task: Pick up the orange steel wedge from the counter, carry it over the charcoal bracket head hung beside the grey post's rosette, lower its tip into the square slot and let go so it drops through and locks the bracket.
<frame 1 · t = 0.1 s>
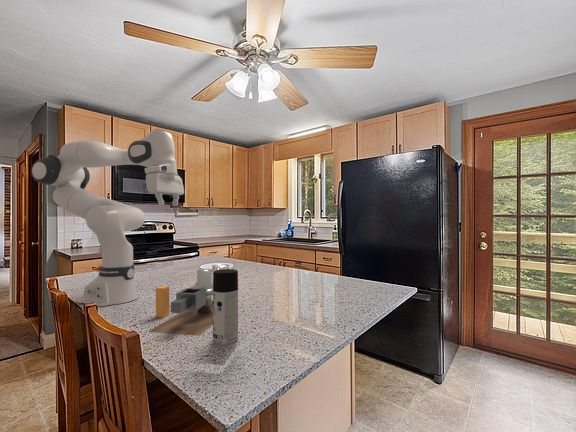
hand: (168, 205, 118), 39 cm above the countertop, tool pointing down, fingers open, 8 cm apart
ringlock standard: (196, 317, 97), resting on base board
wedge: (162, 320, 99), on the countertop
beer glass: (220, 304, 117), on the countertop
base board: (196, 322, 97), on the countertop
spray can: (225, 345, 80), on the countertop
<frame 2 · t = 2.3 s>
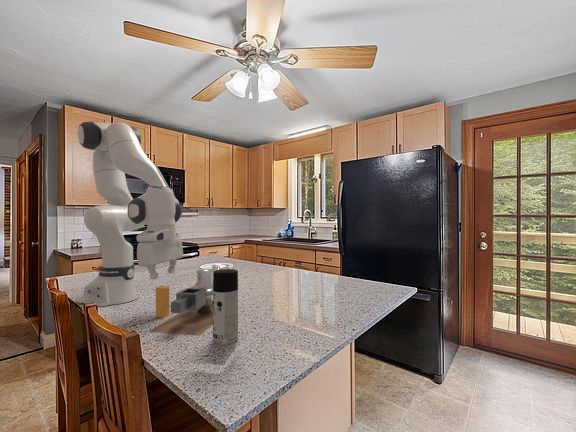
hand: (163, 275, 99), 15 cm above the countertop, tool pointing down, fingers open, 8 cm apart
nothing on the countertop moved.
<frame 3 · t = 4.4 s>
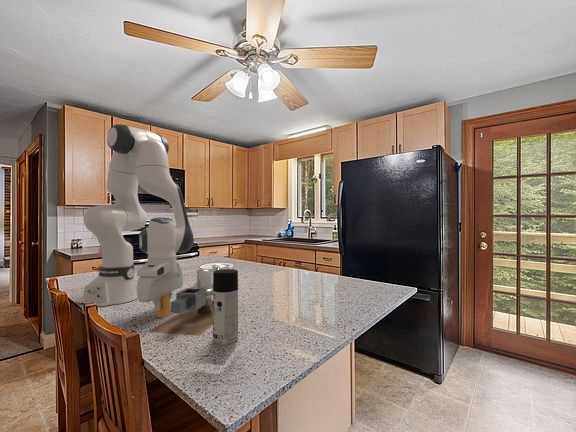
hand: (162, 307, 99), 4 cm above the countertop, tool pointing down, fingers closed on wedge, 3 cm apart
wedge: (162, 320, 99), on the countertop, touching gripper
everything else where it was.
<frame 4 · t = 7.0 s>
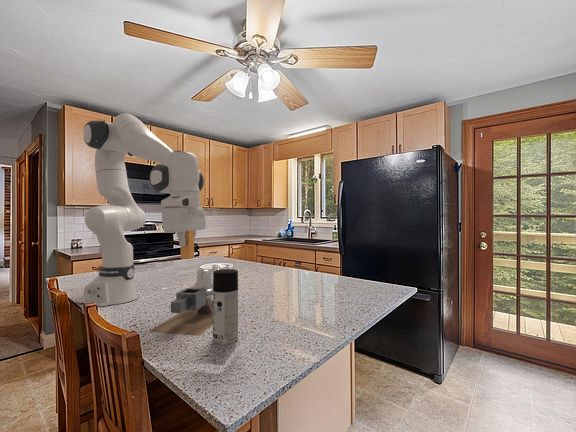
hand: (187, 245, 94), 25 cm above the countertop, tool pointing down, fingers closed on wedge, 3 cm apart
wedge: (187, 258, 94), point 21 cm above the countertop, touching gripper
everything else where it was.
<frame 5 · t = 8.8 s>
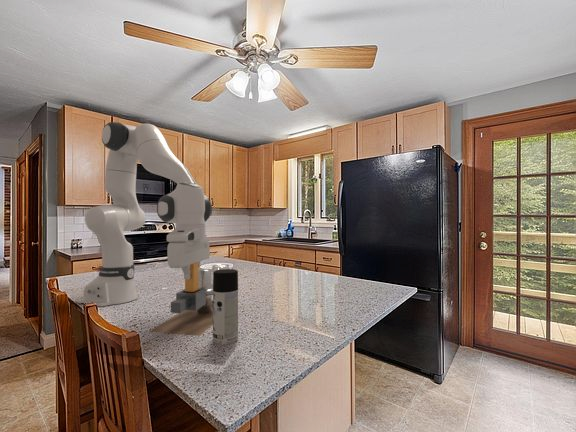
hand: (191, 277, 94), 15 cm above the countertop, tool pointing down, fingers closed on wedge, 3 cm apart
wedge: (191, 290, 94), point 11 cm above the countertop, touching gripper
everything else where it was.
when the fingers open (13 cm above the countertop, at t = 9.9 s): wedge drops 7 cm, resting on base board.
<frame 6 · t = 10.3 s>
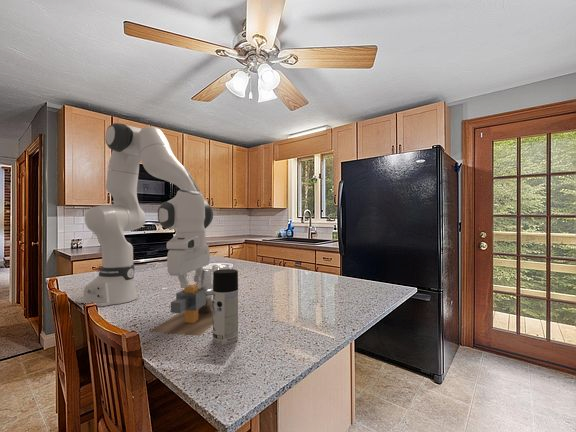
hand: (191, 284, 94), 13 cm above the countertop, tool pointing down, fingers open, 7 cm apart
wedge: (191, 320, 94), point 2 cm above the countertop, touching base board
everything else where it was.
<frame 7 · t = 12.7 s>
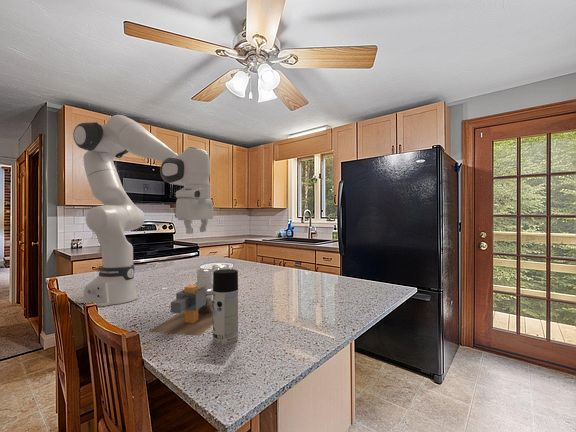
hand: (196, 232, 105), 29 cm above the countertop, tool pointing down, fingers open, 8 cm apart
nothing on the countertop moved.
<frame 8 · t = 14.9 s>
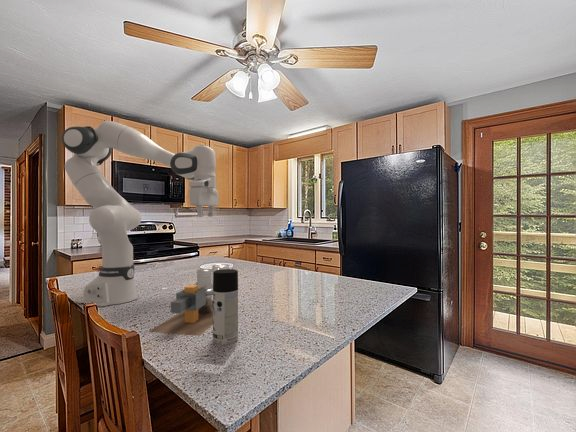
hand: (205, 216, 126), 34 cm above the countertop, tool pointing down, fingers open, 8 cm apart
nothing on the countertop moved.
at the end: wedge 0.0 cm from the target spot on the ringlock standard, point 0.0 cm above the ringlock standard's base; wedge tilted 0°; the gripper is holding nothing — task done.
